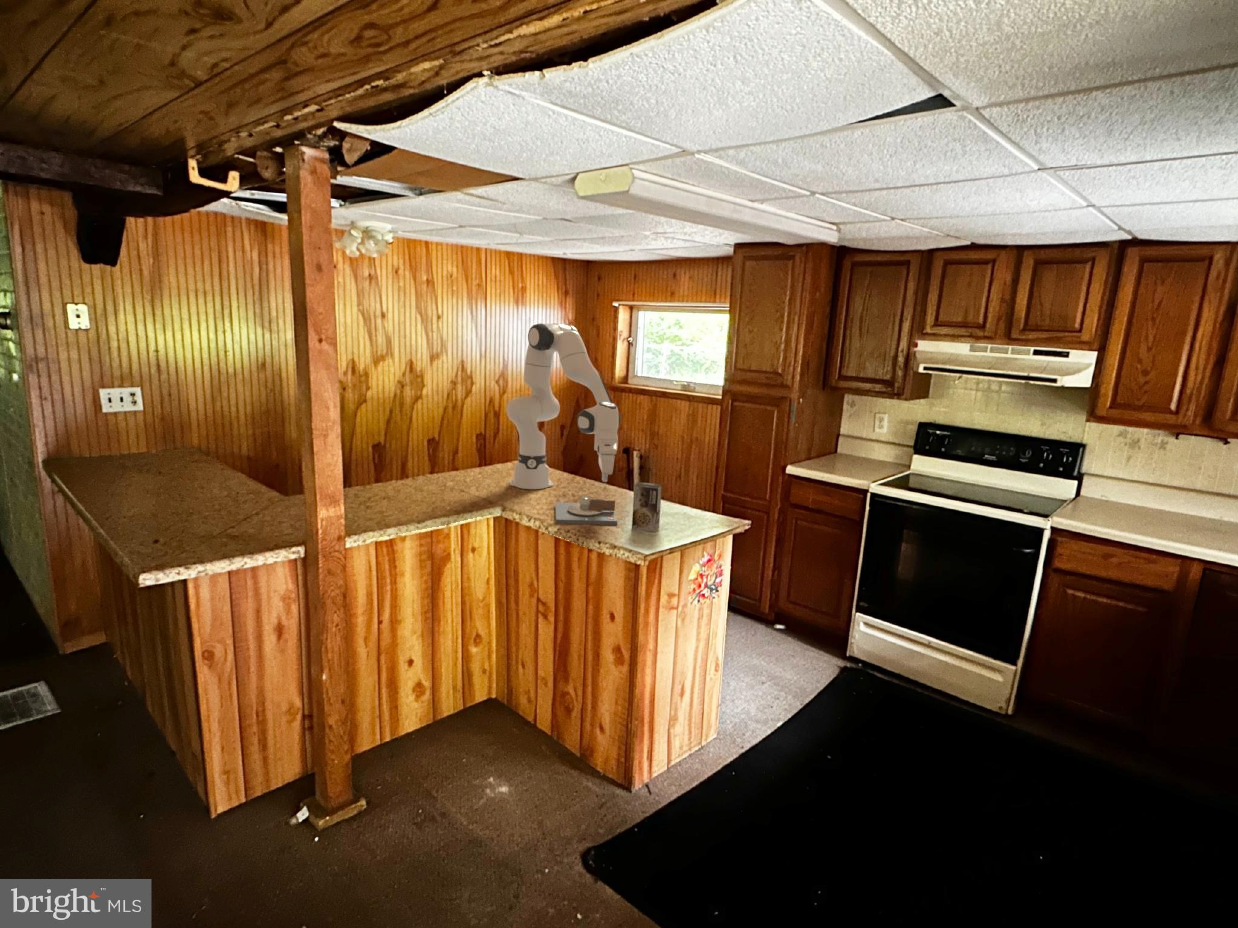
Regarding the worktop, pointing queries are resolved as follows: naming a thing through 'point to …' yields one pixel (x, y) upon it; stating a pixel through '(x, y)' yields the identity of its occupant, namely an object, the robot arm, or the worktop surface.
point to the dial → (592, 506)
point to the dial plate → (570, 518)
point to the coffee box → (646, 506)
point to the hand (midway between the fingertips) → (604, 481)
